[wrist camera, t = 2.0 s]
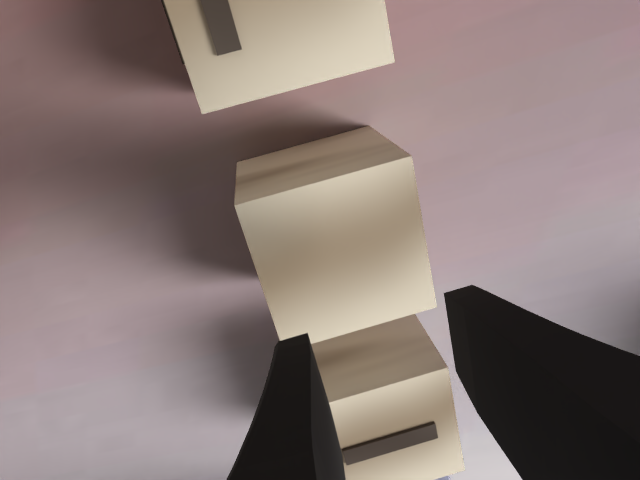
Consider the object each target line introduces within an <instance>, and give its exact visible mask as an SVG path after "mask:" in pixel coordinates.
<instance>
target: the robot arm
mask: <svg viewBox="0 0 640 480" xmlns="http://www.w3.org/2000/svg"><path fill="white" fill-rule="evenodd" d="M444 297H445V303H446V310H447V316H448V323H449V329H450V336H451V342H452V349H453V355H454V361H455V368H456V372H457V374H458V376H459V378H460V380H461V382H462V384H463V386H464V388H465V390H466V392H467V394H468V396H469V398H470V400H471V401H472V403H473V405H474V407H475V409H476V411H477V413H478V414H479V416H480V417H481V419H482V420H483V422H484V423H485V425H486V426H487V428H488V429H489V431H490V432H491V434H492V435H493V437H494V438H495V440H496V441H497V443H498V444H499V446H500V447H501V449H502V450H503V452H504V453H505V454H506V456H507V457H508V459H509V460H510V462H511V463H512V465H513V466H514V468H515V469H516V471H517V472H518V473H519V475H520V476H521V478H522V479H523V480H640V356H638V355H635V354H632V353H629V352H626V351H623V350H621V349H618V348H616V347H613V346H610V345H608V344H605V343H603V342H600V341H597V340H595V339H592V338H590V337H587V336H584V335H582V334H580V333H577V332H575V331H572V330H570V329H568V328H565V327H563V326H561V325H558V324H556V323H554V322H551V321H549V320H547V319H545V318H543V317H540V316H538V315H536V314H534V313H532V312H529V311H527V310H525V309H523V308H521V307H519V306H517V305H515V304H512V303H510V302H508V301H506V300H504V299H502V298H500V297H498V296H496V295H494V294H491V293H489V292H487V291H485V290H483V289H481V288H478V287H476V286H474V285H470V286H467V287H464V288H460V289H457V290H453V291H450V292H446V293H444ZM227 480H346V478H345V471H344V464H343V457H342V452H341V448H340V444H339V440H338V436H337V432H336V428H335V424H334V420H333V416H332V412H331V408H330V405H329V401H328V398H327V395H326V392H325V388H324V385H323V382H322V378H321V375H320V372H319V369H318V365H317V362H316V359H315V355H314V352H313V349H312V345H311V342H310V339H309V336H308V333H305V334H302V335H298V336H295V337H291V338H288V339H284V340H281V341H278V343H277V345H276V346H275V349H274V354H273V358H272V362H271V366H270V370H269V373H268V377H267V380H266V383H265V387H264V390H263V393H262V396H261V398H260V401H259V404H258V407H257V410H256V413H255V415H254V418H253V421H252V423H251V426H250V428H249V431H248V433H247V435H246V438H245V440H244V442H243V445H242V447H241V449H240V452H239V454H238V456H237V459H236V461H235V463H234V465H233V468H232V470H231V472H230V474H229V476H228V478H227ZM435 480H451V479H450V477H448V476H445V477H441V478H438V479H435Z"/></svg>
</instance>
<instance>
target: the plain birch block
mask: <svg viewBox="0 0 640 480" xmlns="http://www.w3.org/2000/svg"><path fill="white" fill-rule="evenodd" d="M234 206H235V209H236V212H237V215H238V218H239V221H240V224H241V227H242V230H243V233H244V236H245V239H246V242H247V245H248V248H249V251H250V254H251V257H252V260H253V263H254V266H255V268H256V271H257V274H258V277H259V280H260V283H261V286H262V289H263V292H264V295H265V298H266V301H267V304H268V307H269V310H270V313H271V316H272V319H273V322H274V325H275V328H276V331H277V334H278V336H279V339H280V341H281V340H284V339H288V338H291V337H295V336H298V335H302V334H305V333H308V336H309V339H310V342H311V344H313V343H316V342H320V341H323V340H327V339H330V338H333V337H337V336H340V335H344V334H347V333H351V332H354V331H357V330H361V329H364V328H368V327H371V326H374V325H378V324H381V323H385V322H388V321H392V320H395V319H398V318H402V317H405V316H409V315H412V314H416V313H419V312H422V311H426V310H429V309H433V308H436V307H437V305H436V299H435V293H434V287H433V281H432V275H431V269H430V263H429V257H428V251H427V245H426V239H425V233H424V227H423V221H422V215H421V209H420V203H419V197H418V191H417V185H416V179H415V173H414V167H413V161H412V156H411V155H410V154H408V153H407V152H405V151H404V150H403V149H401V148H400V147H398V146H397V145H396V144H394V143H393V142H391V141H390V140H389V139H387V138H386V137H384V136H383V135H381V134H380V133H379V132H377V131H376V130H374V129H373V128H372V127H370V126H366V127H363V128H359V129H355V130H352V131H348V132H344V133H341V134H337V135H334V136H330V137H326V138H323V139H319V140H316V141H312V142H308V143H305V144H301V145H298V146H294V147H290V148H287V149H283V150H279V151H276V152H272V153H269V154H265V155H261V156H258V157H254V158H251V159H247V160H243V161H240V162H237V168H236V185H235V201H234Z"/></svg>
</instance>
